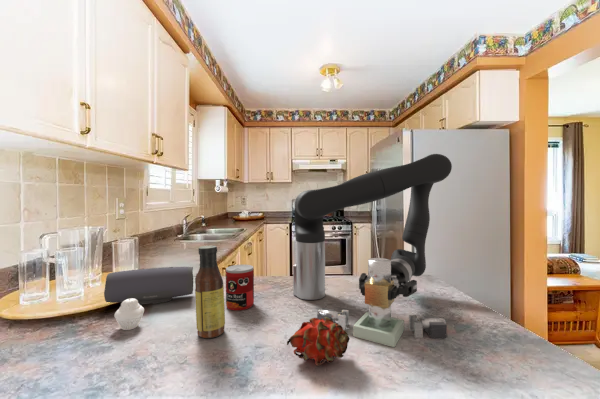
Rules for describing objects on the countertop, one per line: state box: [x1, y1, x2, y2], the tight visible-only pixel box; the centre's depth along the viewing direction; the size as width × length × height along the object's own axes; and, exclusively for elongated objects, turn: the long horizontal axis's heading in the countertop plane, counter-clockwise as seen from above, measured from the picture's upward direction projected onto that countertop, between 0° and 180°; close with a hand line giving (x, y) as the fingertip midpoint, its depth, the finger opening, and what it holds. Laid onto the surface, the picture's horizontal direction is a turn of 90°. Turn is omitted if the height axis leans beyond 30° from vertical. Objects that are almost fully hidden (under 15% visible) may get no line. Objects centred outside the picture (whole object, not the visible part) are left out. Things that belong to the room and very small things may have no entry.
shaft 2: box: [408, 314, 448, 340], centre depth 65 cm, size 7×4×3 cm, turn 88°
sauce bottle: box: [194, 245, 226, 339], centre depth 66 cm, size 6×6×20 cm
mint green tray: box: [352, 311, 405, 348], centre depth 66 cm, size 9×9×2 cm
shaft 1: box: [316, 307, 350, 332], centre depth 70 cm, size 7×4×3 cm, turn 68°
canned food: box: [225, 264, 255, 312], centre depth 83 cm, size 8×8×11 cm
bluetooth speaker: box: [103, 266, 194, 305], centre depth 87 cm, size 23×9×10 cm, turn 108°
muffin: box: [113, 298, 145, 331], centre depth 69 cm, size 6×6×7 cm
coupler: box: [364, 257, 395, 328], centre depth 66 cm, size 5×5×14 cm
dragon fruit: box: [286, 317, 351, 367], centre depth 55 cm, size 8×8×12 cm
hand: (376, 293), depth 64 cm, fingers closed on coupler, 5 cm apart
